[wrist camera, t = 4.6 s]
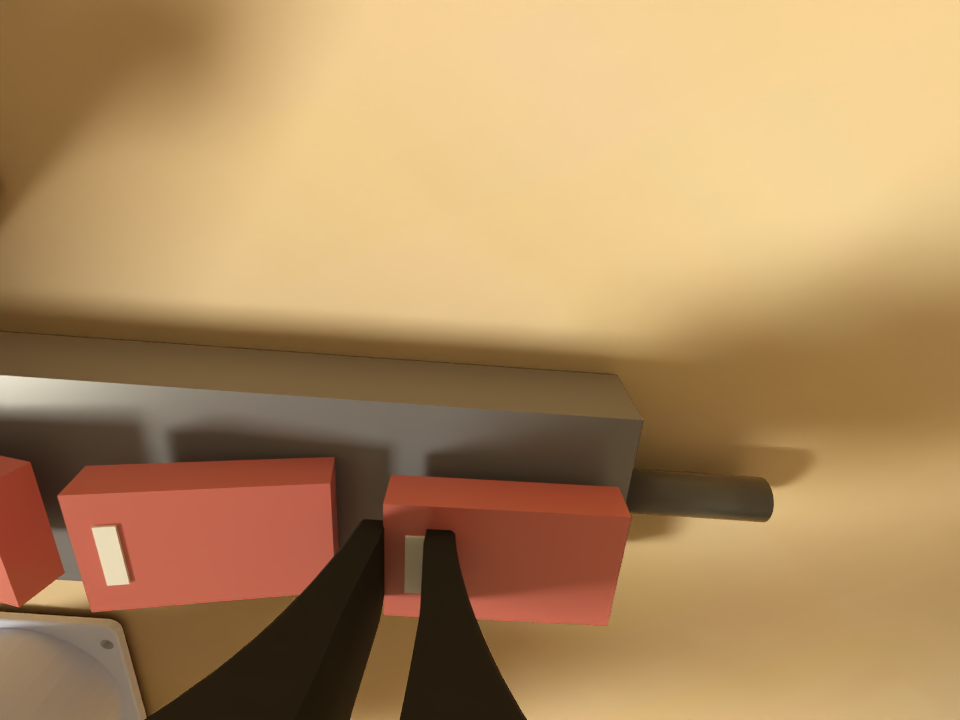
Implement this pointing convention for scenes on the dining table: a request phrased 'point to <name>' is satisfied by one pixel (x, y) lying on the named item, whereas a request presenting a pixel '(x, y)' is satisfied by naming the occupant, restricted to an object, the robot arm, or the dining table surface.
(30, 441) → the power strip
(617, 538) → the red rectangular block
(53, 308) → the dining table surface
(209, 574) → the block
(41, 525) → the rocker
